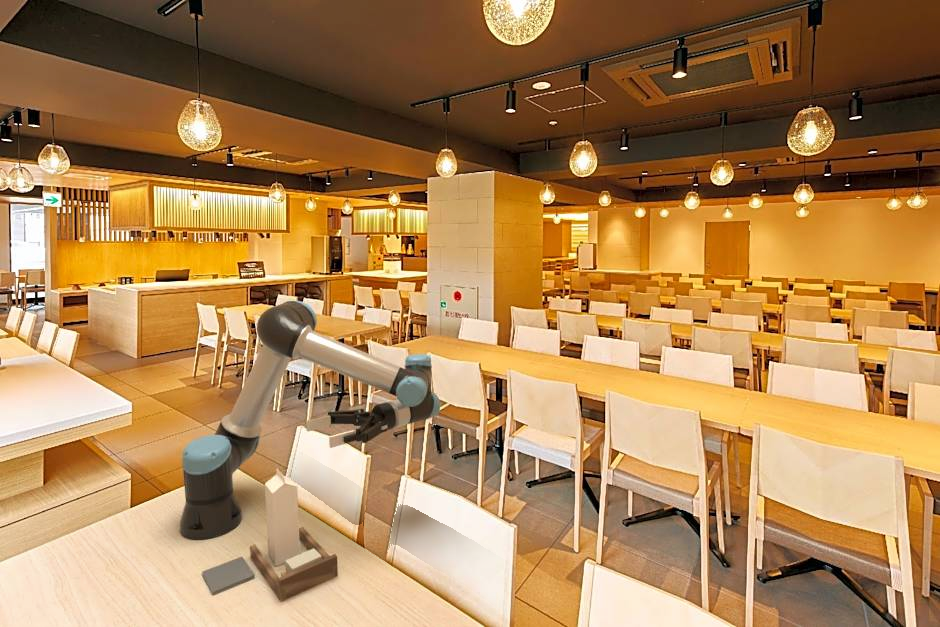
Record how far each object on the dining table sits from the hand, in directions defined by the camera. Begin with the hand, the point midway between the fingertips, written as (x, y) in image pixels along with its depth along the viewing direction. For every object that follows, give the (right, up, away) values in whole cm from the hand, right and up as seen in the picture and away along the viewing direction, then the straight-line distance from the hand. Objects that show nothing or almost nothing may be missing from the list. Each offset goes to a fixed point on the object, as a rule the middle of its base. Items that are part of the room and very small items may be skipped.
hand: (317, 433), depth 129 cm
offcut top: (0, -29, -11) cm, 31 cm away
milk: (-8, -30, -2) cm, 31 cm away
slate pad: (-18, -31, -10) cm, 37 cm away
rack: (-4, -31, -6) cm, 31 cm away
